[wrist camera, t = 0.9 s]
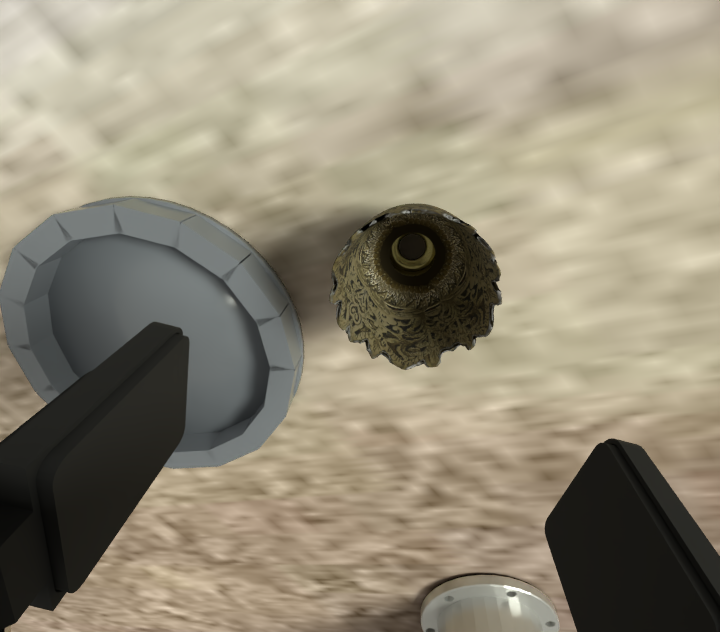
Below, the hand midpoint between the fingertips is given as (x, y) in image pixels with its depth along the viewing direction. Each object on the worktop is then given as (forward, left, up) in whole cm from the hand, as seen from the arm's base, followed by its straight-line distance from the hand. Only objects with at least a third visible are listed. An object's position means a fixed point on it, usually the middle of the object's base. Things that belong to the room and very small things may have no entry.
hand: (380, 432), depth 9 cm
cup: (0, -1, -17) cm, 17 cm away
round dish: (-11, +14, -17) cm, 25 cm away
